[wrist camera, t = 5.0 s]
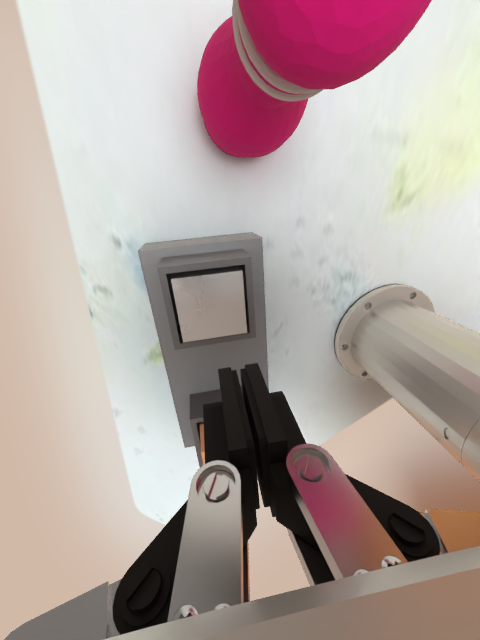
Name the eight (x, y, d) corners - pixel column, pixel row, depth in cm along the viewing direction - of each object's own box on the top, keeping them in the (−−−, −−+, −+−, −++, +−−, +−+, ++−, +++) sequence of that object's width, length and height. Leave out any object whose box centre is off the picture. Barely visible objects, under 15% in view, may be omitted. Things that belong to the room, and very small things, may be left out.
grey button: (240, 317, 24) (247, 332, 21) (183, 325, 23) (183, 342, 20) (235, 261, 22) (242, 270, 19) (173, 269, 21) (170, 279, 18)
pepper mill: (223, 180, 23) (334, 116, 5) (178, 84, 20) (90, -803, 2) (296, 138, 23) (669, -78, 5) (261, 33, 20) (918, -1475, 2)
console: (261, 406, 35) (279, 456, 28) (185, 421, 34) (184, 476, 27) (251, 232, 26) (274, 243, 19) (145, 243, 24) (128, 260, 18)
